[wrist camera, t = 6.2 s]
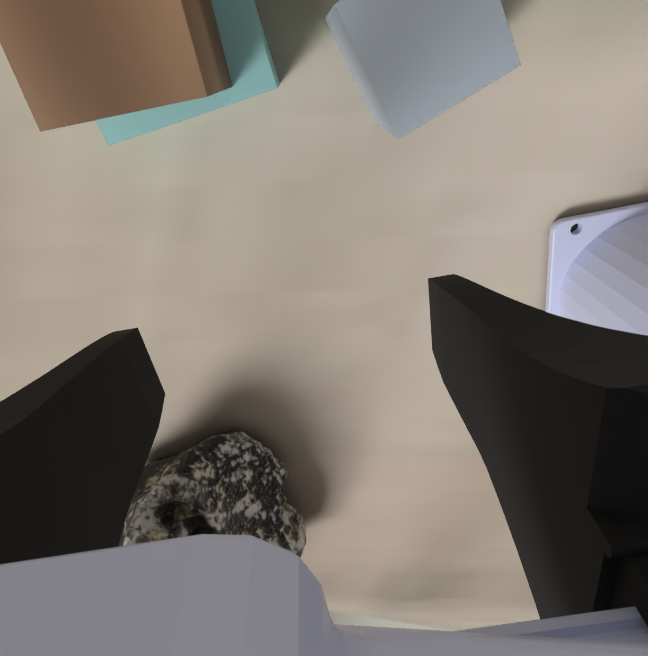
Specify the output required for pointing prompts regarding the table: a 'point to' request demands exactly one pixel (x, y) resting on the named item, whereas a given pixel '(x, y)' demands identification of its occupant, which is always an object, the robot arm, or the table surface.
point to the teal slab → (243, 65)
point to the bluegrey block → (421, 54)
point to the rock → (215, 495)
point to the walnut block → (111, 56)
